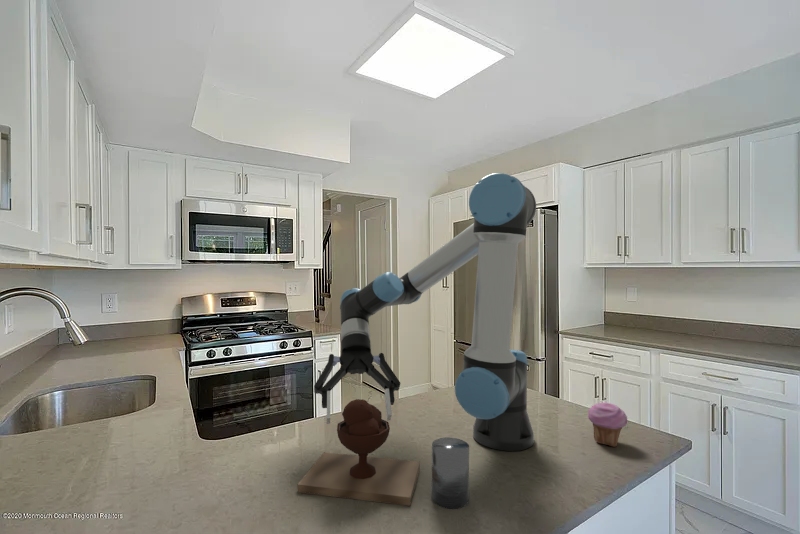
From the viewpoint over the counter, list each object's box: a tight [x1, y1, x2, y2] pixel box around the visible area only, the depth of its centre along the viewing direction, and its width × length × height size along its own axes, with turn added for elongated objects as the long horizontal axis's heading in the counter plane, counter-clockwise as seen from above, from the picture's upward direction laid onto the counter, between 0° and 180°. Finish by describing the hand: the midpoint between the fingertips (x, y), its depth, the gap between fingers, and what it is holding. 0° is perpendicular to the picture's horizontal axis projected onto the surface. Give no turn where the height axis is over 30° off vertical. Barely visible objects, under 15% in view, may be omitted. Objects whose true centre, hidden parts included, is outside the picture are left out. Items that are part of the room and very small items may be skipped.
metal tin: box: [430, 436, 470, 510], centre depth 76 cm, size 7×7×10 cm
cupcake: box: [587, 402, 628, 448], centre depth 101 cm, size 9×9×10 cm
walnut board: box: [296, 451, 421, 507], centre depth 82 cm, size 22×14×2 cm, turn 80°
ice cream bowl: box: [336, 398, 391, 479], centre depth 82 cm, size 11×11×15 cm
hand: (359, 419), depth 89 cm, fingers open, 13 cm apart
